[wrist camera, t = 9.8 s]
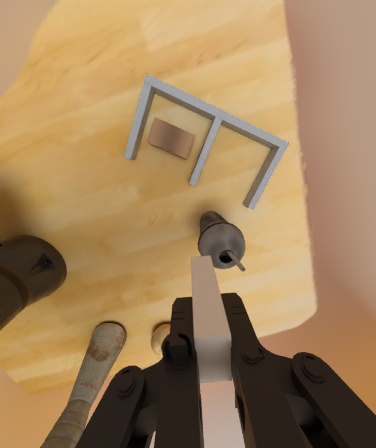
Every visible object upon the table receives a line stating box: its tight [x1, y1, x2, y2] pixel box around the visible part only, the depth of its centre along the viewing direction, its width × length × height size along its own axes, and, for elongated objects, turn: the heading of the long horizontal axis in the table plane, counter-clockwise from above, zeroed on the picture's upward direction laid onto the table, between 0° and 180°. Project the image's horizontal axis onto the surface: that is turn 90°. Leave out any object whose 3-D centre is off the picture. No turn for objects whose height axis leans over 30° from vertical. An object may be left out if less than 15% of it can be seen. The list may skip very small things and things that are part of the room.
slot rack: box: [124, 74, 289, 210], centre depth 33 cm, size 26×13×3 cm, turn 68°
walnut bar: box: [148, 118, 195, 159], centre depth 32 cm, size 7×4×4 cm, turn 68°
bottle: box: [40, 322, 126, 448], centre depth 35 cm, size 9×9×28 cm
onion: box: [151, 324, 171, 357], centre depth 45 cm, size 8×8×7 cm
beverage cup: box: [198, 212, 245, 272], centre depth 29 cm, size 7×7×20 cm
